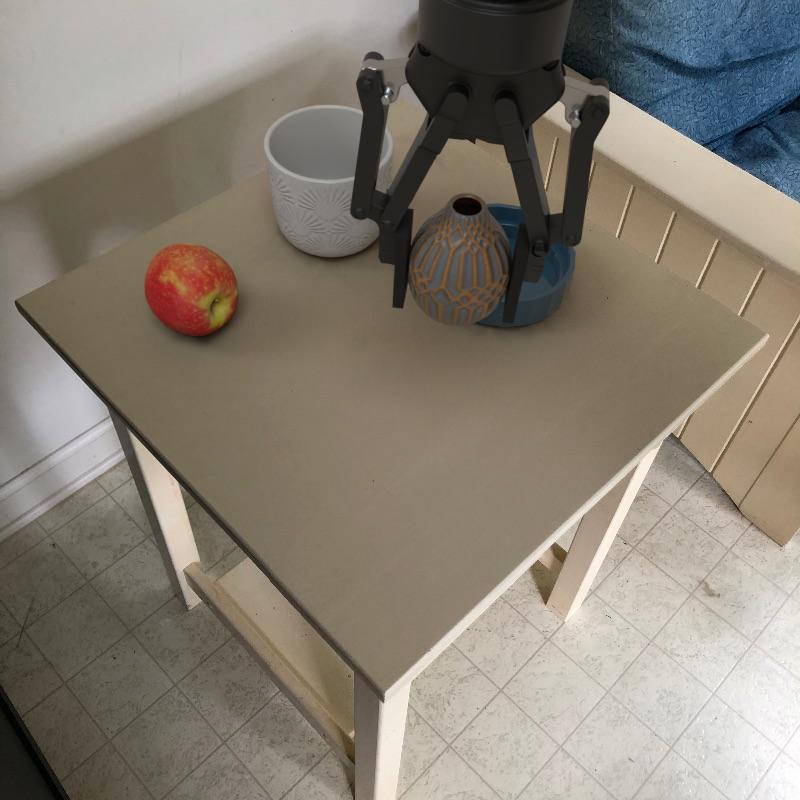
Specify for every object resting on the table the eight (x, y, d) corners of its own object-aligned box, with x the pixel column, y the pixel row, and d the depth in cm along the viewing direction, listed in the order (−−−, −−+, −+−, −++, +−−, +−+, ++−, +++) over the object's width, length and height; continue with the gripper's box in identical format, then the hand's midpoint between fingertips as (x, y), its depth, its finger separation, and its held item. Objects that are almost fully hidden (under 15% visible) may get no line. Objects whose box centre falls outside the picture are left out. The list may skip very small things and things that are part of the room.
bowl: (564, 340, 79) (573, 311, 76) (419, 319, 80) (422, 290, 77) (569, 243, 87) (577, 213, 84) (438, 225, 88) (441, 195, 85)
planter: (409, 251, 86) (415, 163, 77) (297, 283, 82) (290, 195, 73) (363, 181, 92) (363, 93, 84) (257, 208, 89) (246, 119, 80)
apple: (193, 364, 75) (178, 303, 69) (134, 318, 78) (115, 256, 72) (257, 317, 79) (248, 255, 73) (199, 275, 82) (186, 212, 76)
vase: (465, 258, 61) (479, 157, 54) (523, 317, 57) (546, 218, 50) (385, 292, 58) (389, 191, 51) (441, 356, 55) (454, 258, 48)
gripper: (704, -51, 41) (597, 282, 59) (311, -94, 42) (325, 247, 60) (718, 26, 36) (597, 361, 55) (277, -24, 37) (303, 321, 56)
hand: (454, 301), depth 57 cm, fingers closed on vase, 7 cm apart
